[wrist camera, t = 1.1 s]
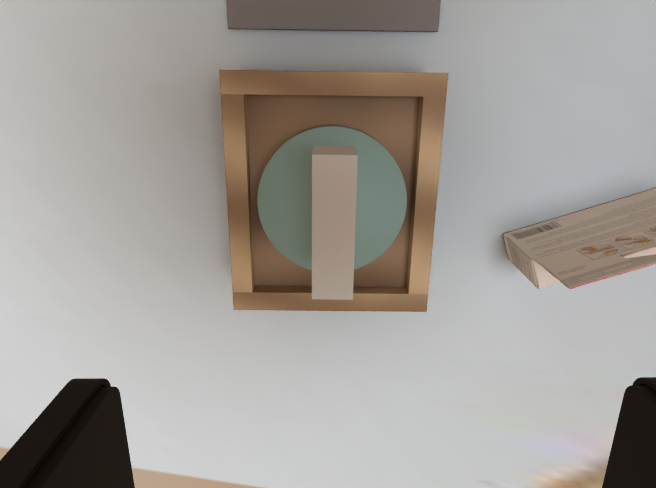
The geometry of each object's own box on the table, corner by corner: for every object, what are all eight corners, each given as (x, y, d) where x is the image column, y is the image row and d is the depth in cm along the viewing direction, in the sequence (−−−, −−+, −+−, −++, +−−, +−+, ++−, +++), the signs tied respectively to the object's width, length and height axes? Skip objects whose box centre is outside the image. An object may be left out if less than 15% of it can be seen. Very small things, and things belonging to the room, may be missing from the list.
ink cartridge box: (660, 215, 34) (785, 267, 25) (507, 261, 35) (572, 327, 26) (656, 183, 33) (784, 224, 24) (500, 231, 34) (565, 287, 25)
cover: (258, 123, 27) (237, 137, 20) (407, 125, 27) (432, 139, 20) (263, 262, 29) (246, 311, 23) (397, 263, 29) (417, 313, 23)
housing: (239, 71, 30) (219, 69, 25) (425, 74, 30) (448, 73, 25) (248, 272, 35) (233, 309, 29) (410, 274, 35) (426, 311, 29)
